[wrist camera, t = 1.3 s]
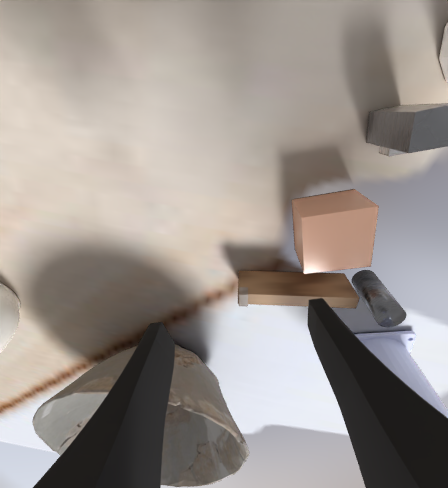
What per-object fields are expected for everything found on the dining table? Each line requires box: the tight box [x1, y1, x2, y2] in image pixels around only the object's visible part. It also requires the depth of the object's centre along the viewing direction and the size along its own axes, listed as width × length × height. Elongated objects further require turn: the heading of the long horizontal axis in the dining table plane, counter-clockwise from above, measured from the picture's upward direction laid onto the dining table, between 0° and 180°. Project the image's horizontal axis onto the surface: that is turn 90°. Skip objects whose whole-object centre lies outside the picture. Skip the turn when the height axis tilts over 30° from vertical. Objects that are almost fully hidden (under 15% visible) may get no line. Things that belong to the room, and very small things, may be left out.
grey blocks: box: [352, 103, 448, 327], centre depth 17 cm, size 16×2×5 cm, turn 11°
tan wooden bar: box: [238, 271, 359, 308], centre depth 22 cm, size 10×1×4 cm, turn 91°
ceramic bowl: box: [33, 344, 249, 487], centre depth 28 cm, size 22×23×10 cm
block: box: [292, 189, 379, 274], centre depth 19 cm, size 5×5×4 cm
